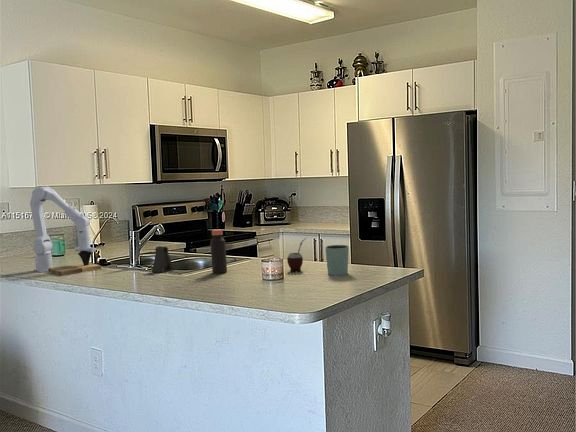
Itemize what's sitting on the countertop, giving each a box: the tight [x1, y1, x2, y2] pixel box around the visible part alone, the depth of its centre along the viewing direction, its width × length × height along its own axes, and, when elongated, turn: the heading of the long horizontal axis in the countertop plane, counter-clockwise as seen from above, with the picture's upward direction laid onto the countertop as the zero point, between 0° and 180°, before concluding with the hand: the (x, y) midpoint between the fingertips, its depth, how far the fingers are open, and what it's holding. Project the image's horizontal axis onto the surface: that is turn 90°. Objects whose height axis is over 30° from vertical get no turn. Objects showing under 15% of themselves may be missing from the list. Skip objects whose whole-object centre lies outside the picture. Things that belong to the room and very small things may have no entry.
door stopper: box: [151, 245, 175, 274], centre depth 278 cm, size 9×6×12 cm, turn 139°
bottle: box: [210, 228, 228, 275], centre depth 265 cm, size 7×7×20 cm
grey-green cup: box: [325, 244, 350, 277], centre depth 246 cm, size 10×10×12 cm
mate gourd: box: [287, 237, 307, 273], centre depth 258 cm, size 8×8×15 cm
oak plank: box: [67, 262, 102, 273], centre depth 296 cm, size 18×10×2 cm, turn 43°
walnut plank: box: [47, 264, 83, 277], centre depth 289 cm, size 18×10×2 cm, turn 43°
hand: (86, 265), depth 297 cm, fingers closed, pressing on oak plank
